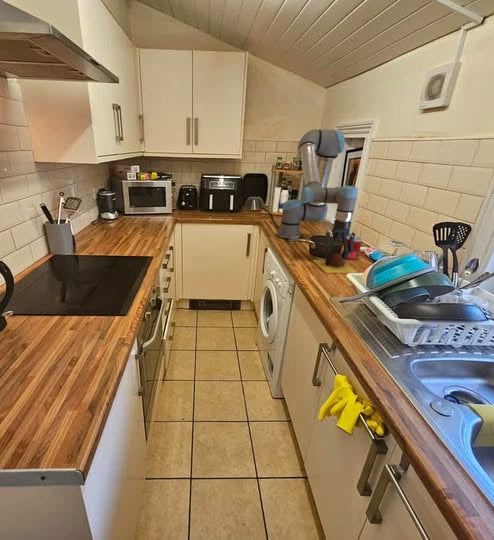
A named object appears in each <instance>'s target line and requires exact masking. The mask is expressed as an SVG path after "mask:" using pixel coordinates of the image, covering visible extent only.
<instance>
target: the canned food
mask: <svg viewBox="0 0 494 540" xmlns="http://www.w3.org/2000/svg"><path fill="white" fill-rule="evenodd" d="M349 238H350V236H349V235H348V236H347V237H346V239H347V246H348V247H349ZM362 242H363V238H361V237H359V236H355V237H354V242H353V252H352V253H349V254H348V256H347V259H346V260H351V261H355V260H357V259H358V258H359V255H360V251H361V247H362ZM343 252H344V249H343V250H342V253H343Z"/></svg>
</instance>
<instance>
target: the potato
mask: <svg viewBox="0 0 494 540" xmlns="http://www.w3.org/2000/svg"><path fill="white" fill-rule="evenodd" d="M330 253H331V254H330V259H329V264H330V265H332V266H334V267H342V266H344V265H345V264H346V263H347V262H346V260H344V259H343V258H342V255H340V254H339V253H338V252H330Z"/></svg>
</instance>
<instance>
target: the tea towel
mask: <svg viewBox="0 0 494 540" xmlns="http://www.w3.org/2000/svg"><path fill="white" fill-rule="evenodd" d="M312 261H313V263H314V264H315V265H317V266H318V267H319V269H321V271H323V272H324V273H325V274H331V273H332V274H335V273H337V274H339V273H343V274H344V273H345V274H347V273H358V270H356V269H355V268H353V267H352V266H350V265H349V264H348V263H347V262H346V264H345V265H344V266H342V267H334V266H332V265H330V264H328V266H327V265H326V264H325V262H326V259H312Z"/></svg>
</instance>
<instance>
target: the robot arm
mask: <svg viewBox="0 0 494 540" xmlns="http://www.w3.org/2000/svg"><path fill="white" fill-rule="evenodd" d="M345 141H346V139H345V134H344V132H343V131H342V130H339V129H317V128H316V129H310V130H309V131H307V132H306V133H304V134H303V136H301V138H300V140H299V142H298V145H297V153H298V156H299V157H300V161H301V167H302V168H301V169H302V175H303V183H304V186H303V187H302V188H301V192H300V199H288V200H286V201H284V202H283V204H282V208H281V209H282V211H281V219H280V220H281V221H280V224H279V225H278V224H277V223H276V221H275V220H274V219H275V218H274V217H273V215H272V213H271V212H270V211H269V210H268V209H266V207H264V206H262V207H261V209H264V210H265V211H266V212H267V213H269V215H270V216H271V220H272V222H273V223H274V225H275V226H276V227H277V228H278V229H277V231H276V237H278V238H280V239H285V240H299V239H300V238H301V236H302V234H301V233H302V232H301V228H300V224H301V223H300V222H312V223H313V222H314V223H316V222H317V223H318V222H320V223H321V222H322V221H324V220H325V219H326V216H327V214H328V204H336V210H335V215H334V220H333V221H334V222H333V226H332V227H333V228H332V229H331V230H329V231H328V230H326V231H325V237H324V240H323V244H322V247H321V250H322V252H324V260H326V262H325V264H326V265H327V266H328V264H329V259H330V254H331V253H332V252H331V250H332V249H333V247H334V245H335V243H336V242H337V241H338V240H341V241H342V246H343V250H344V252H343V251H342V252H341V257H342V258H343V259H344V260H345V261H347V260H348V259H347V256H348V254H349V253H352V252H353V242H354V237H356V233H355V232H353V231H351V227H352V220H353V217H354V212H355V207H356V203H357V199H358V193H359V188H358V187H357V186H353V185H342V186H335V187H328V184H329V180H330V176H331V173H332V169H333V164H334V161H335V160H336V159H337V158H338V156H339V155H340V154H342V153H343V151H344V149H345ZM263 207H264V208H263ZM331 236H332V237H331ZM347 236H350V238H349V247H348V246H347V239H346V237H347Z"/></svg>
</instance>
